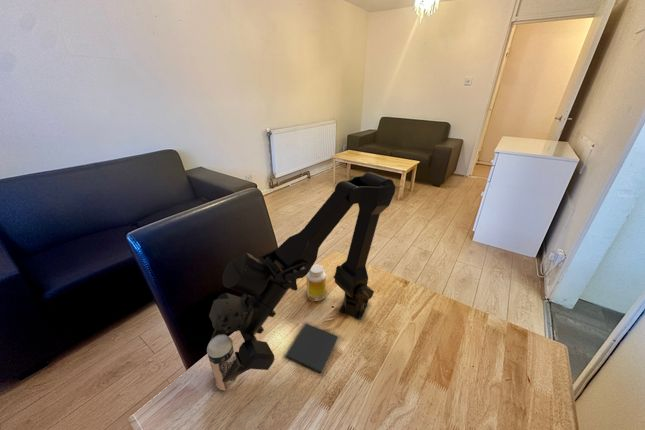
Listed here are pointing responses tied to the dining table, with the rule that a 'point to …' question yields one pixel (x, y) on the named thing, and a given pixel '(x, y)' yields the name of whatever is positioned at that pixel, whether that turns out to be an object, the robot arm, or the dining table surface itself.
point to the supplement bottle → (316, 283)
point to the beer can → (221, 360)
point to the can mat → (312, 347)
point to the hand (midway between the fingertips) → (217, 362)
